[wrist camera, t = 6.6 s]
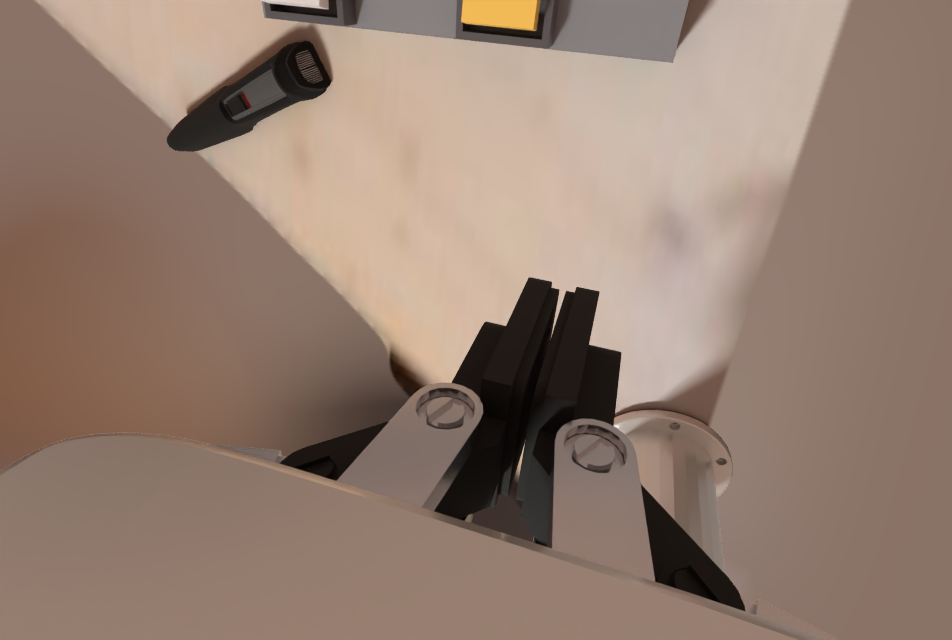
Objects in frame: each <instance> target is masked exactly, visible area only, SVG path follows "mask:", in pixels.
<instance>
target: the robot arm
mask: <svg viewBox="0 0 952 640" xmlns="http://www.w3.org/2000/svg"><path fill="white" fill-rule="evenodd" d="M551 287H552V282H550V281H545V280H540V279H535V278H530V277H529V279H528V280H527V283H526V285H525V287H524V289H523V291H522V293H521V295H520V298H519V300H518V302H517V304H516V306H515V308H514V310H513V313H512V315H511V317H510V319H509V321H508V323H507V325H506V326H503V325H499V324H494V323H490V322H485V323H484V324H483V326H482V327H481V329H480V331H479V333H478V335H477V337H476V339H475V340H474V342H473V344H472V346H471V348H470V350H469V352H468V353H467V355H466V357H465V359H464V361H463V363H462V365H461V366H460V368H459V370H458V372H457V374H456V376H455V377H454V379H453V381H452V383H436V384H431V385H428V386H426V387H423V388H421V389H420V390H418V391H417V392H416V393H415V394H413V395H412V397H411V398H410V399H409V400H408V401H407V402H406V403H405V405H404V406H403V407H402V408H401V409H400V410H399V411H398V412H397V414H396V415H395V416H394V417H393V418H392V419H391V420H390V421H388V422H385V423H382V424H379V425H376V426H372V427H369V428H366V429H363V430H360V431H356V432H353V433H350V434H347V435H343V436H340V437H337V438H334V439H331V440H327V441H324V442H321V443H318V444H315V445H311V446H308V447H305V448H302V449H300V450H298V451H296V452H293V453H292V454H291V455H289V456H288V457H285V456H282V455H281V451H280V450H272V449H261V448H250V447H238V446H227V445H215V444H207V443H203V442H198V441H194V440H190V439H184V438H179V437H173V436H167V435H159V434H144V433H130V432H129V433H102V434H93V435H85V436H79V437H74V438H69V439H65V440H62V441H59V442H55V443H52V444H49V445H47V446H45V447H43V448H41V449H38V450H36V451H34V452H32V453H30V454H28V455H26V456H25V457H23V458H21V459H19V460H17V461H16V462H14V463H12V464H10V465H9V466H7V467H5V468H4V469H2V470H0V640H839V639H837V638H835V637H834V636H832V635H830V634H828V633H826V632H824V631H822V630H820V629H818V628H816V627H814V626H812V625H810V624H808V623H806V622H804V621H802V620H800V619H798V618H797V617H795V616H792V615H791V614H789V613H787V612H785V611H783V610H781V609H779V608H777V607H775V606H773V605H771V604H769V603H767V602H765V601H763V600H761V599H760V598H758V600H757V601H756V602H755V604H754V603H752V602H750V601H749V600H747V599H745V598H743V597H741V596H740V594H739V592H738V590H737V589H736V587H735V586H734V585H733V583H732V582H731V581H730V580H729V578H728V577H727V576H726V574H725V569H724V560H723V551H722V542H721V533H720V523H719V514H718V505H717V497H718V496H720V495H721V494H722V493H723V492H724V491H725V489H726V488H727V487H728V485H729V483H730V481H731V478H732V470H733V466H732V460H731V455H730V452H729V450H728V447H727V445H726V444H725V442H724V441H723V440H722V438H721V437H720V436H719V435H718V434H717V433H716V432H715V431H714V430H713V429H711V428H710V427H708V426H707V425H705V424H704V423H702V422H700V421H698V420H696V419H694V418H691V417H689V416H686V415H683V414H679V413H676V412H670V411H663V410H640V411H633V412H629V413H625V414H622V415H619V416H617V417H615V408H616V398H617V389H618V380H619V371H620V362H621V352H618V351H614V350H609V349H605V348H601V347H596V346H592V345H589V341H590V336H591V331H592V326H593V321H594V316H595V312H596V307H597V302H598V297H599V291H594V290H589V289H584V288H580V287H576V291H575V293H574V292H569V291H566V293H565V296H564V300H563V303H562V306H561V309H560V312H559V315H558V318H557V321H556V325H555V328H554V331H553V334H552V329H553V323H554V318H555V312H556V307H557V301H558V296H559V289H554V288H551ZM551 334H552V337H551ZM614 417H615V418H614ZM525 440H526V441H525ZM524 443H525V447H524ZM523 447H524V453H523V459H522V464H521V470H520V476H519V482H518V488H517V494H516V499H518V500H522V501H523V506H522V511H521V516H522V518H523V520H524V521H525V523H526V524H527V526H528V527H529V528H530V530H531V532H532V533H533V535H534V540H533V542H529V541H526V540H523V539H520V538H517V537H514V536H510V535H507V534H504V533H501V532H498V531H494V530H491V529H488V528H485V527H482V526H478V525H476V524H472V523H471V521H472V518H473V513H475V512H477V511H480V510H482V509H484V508H487V507H490V508H494V509H495V505H496V502H497V499H498V496H499V494H502V495H505V496H508V495H509V493H510V489H511V486H512V483H513V479H514V476H515V473H516V470H517V466H518V463H519V460H520V456H521V453H522V450H523Z"/></svg>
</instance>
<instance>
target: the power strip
mask: <svg viewBox="0 0 952 640" xmlns="http://www.w3.org/2000/svg"><path fill="white" fill-rule="evenodd" d="M688 3H689V0H541V2H540V9H539V16H538V23H537V31H531V30H521V29H512V28H502V27H492V26H483V25H473V24H466V23H463V22H461V17H462V5H463V0H329V9H319V8H310V7H300V6H290V5H280V4H271V3H267V2H264V1H262V5H263V12H264V18H271V19H280V20H289V21H298V22H307V23H316V24H325V25H334V26H344V27H353V28H362V29H371V30H380V31H389V32H398V33H407V34H416V35H425V36H434V37H444V38H453V39H462V40H471V41H480V42H489V43H498V44H507V45H516V46H525V47H534V48H544V49H553V50H562V51H571V52H580V53H589V54H598V55H607V56H616V57H625V58H634V59H644V60H653V61H662V62H671V63H673V60H674V56H675V53H676V49H677V45H678V41H679V37H680V33H681V29H682V26H683V22H684V18H685V14H686V10H687V6H688Z"/></svg>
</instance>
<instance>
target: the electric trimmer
mask: <svg viewBox="0 0 952 640" xmlns="http://www.w3.org/2000/svg"><path fill="white" fill-rule="evenodd" d="M330 84H331V80H330V78H329V76H328V74H327V72H326V70H325V68H324V66H323V64H322V62H321V60H320V58H319V56H318V54H317V52H316V50H315V48H314V46H313V44H311V43H310V42H308V41H304V42H296V43H293V44H290V45H287V46H285V47H283V48H282V49H281V50H280V51H279V52H278V53H277V54H276V55H275V56H273V57H272V58H270V59H269V60H268V61H266V62H265V63H263V64H262V65H260V66H259V67H258V68H256V69H255V70H253V71H252V72H250V73H249V74H248V75H246V76H245V77H243V78H242V79H240V80H239V81H237V82H236V83H234V84H232V85H230V86H225V87H223V88H222V89H220V90H219V91H217V92H216V93H215V94H213V95H212V96H211V97H209V98H208V99H207V100H206V101H204V102H203V103H202V104H201V105H199V106H198V107H197V108H196V109H194V110H193V111H192V112H191V113H189V114H188V115H187V116H186V117H184V118H183V119H182V120H181V121H180V122H179V123H178V124H177V125H176V126H175V127H174V129H173V130H172V131H171V133H170V134H169V135H168V137H167V143H168V145H169V147H171V148H172V149H174V150H177V151H198V150H202V149H205V148H208V147H210V146H213V145H216V144H219V143H221V142H224V141H227V140H230V139H233V138H235V137H238V136H241V135H243V134H246V133H248V132H250V131H252V130H253V127H254V125H255V124H256V123H257V122H259V121H261V120H263V119H264V118H266V117H268V116H270V115H272V114H274V113H276V112H278V111H280V110H282V109H284V108H286V107H288V106H290V105H293V104H295V103H297V102H299V101H304V100H310V99H314V98H317V97H318V96H320V95H321V94H323V93H324V92H325V91H326V88H327V87H328V86H330Z"/></svg>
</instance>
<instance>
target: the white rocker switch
mask: <svg viewBox="0 0 952 640" xmlns="http://www.w3.org/2000/svg"><path fill="white" fill-rule="evenodd" d="M260 1H264V2H267V3H271V4H280V5H290V6H300V7H310V8H319V9H329V0H260Z"/></svg>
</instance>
